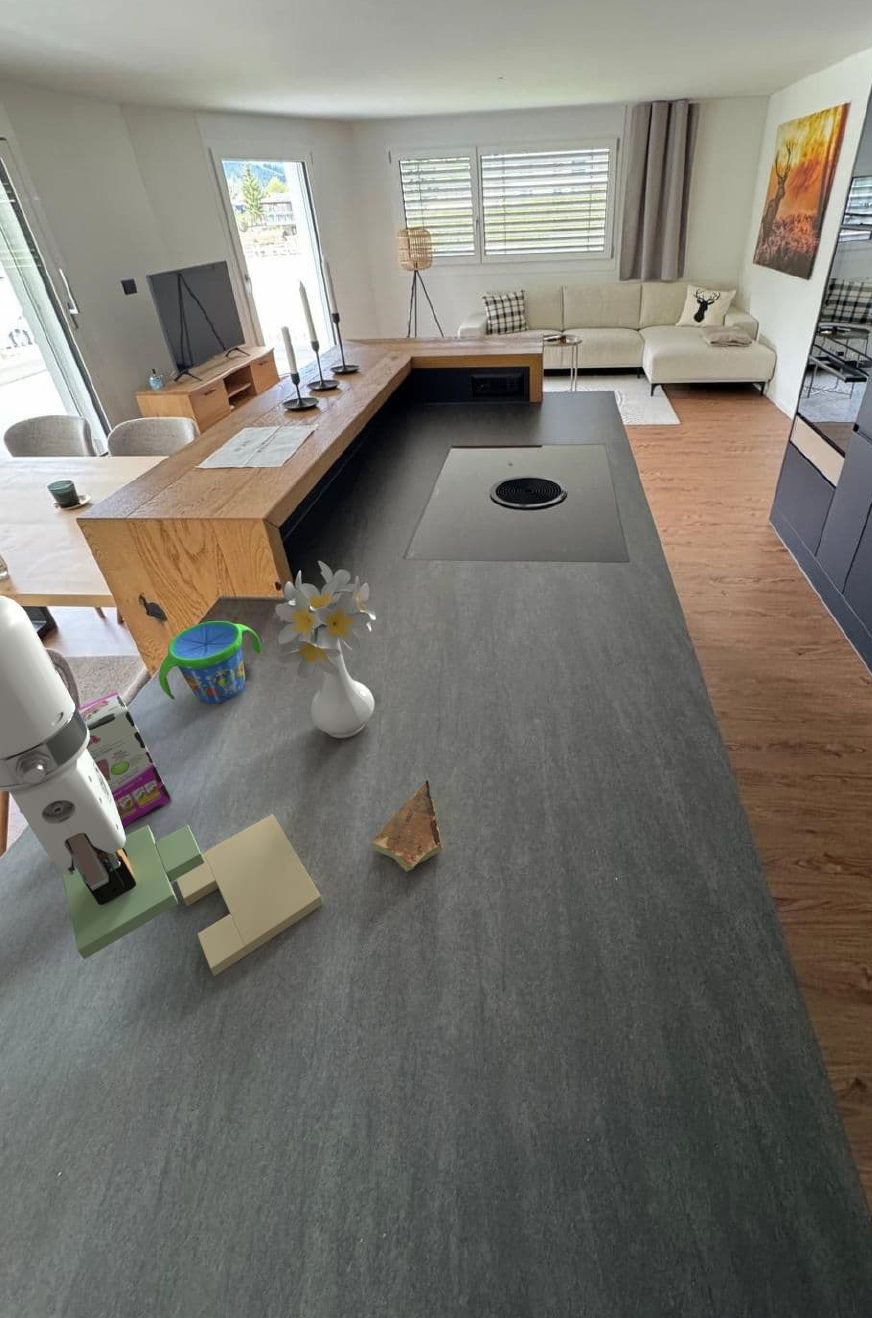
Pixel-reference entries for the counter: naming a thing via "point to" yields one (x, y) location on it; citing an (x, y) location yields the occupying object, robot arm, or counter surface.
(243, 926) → the cream pad
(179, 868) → the green pad
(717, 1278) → the counter surface
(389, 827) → the shard
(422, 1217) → the counter surface
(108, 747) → the candy bar box
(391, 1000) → the counter surface
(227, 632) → the snack cup
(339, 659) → the flower vase
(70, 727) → the robot arm
